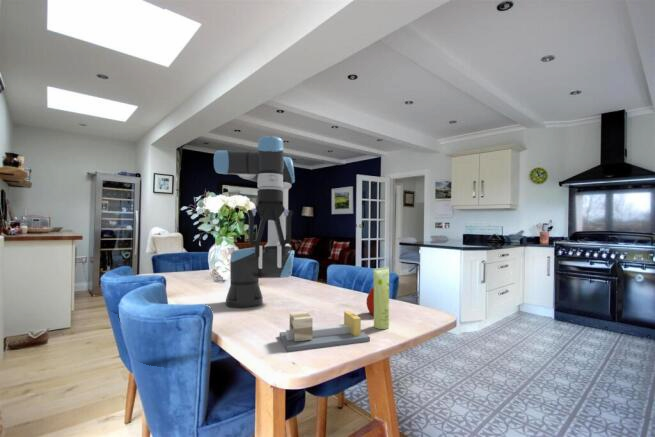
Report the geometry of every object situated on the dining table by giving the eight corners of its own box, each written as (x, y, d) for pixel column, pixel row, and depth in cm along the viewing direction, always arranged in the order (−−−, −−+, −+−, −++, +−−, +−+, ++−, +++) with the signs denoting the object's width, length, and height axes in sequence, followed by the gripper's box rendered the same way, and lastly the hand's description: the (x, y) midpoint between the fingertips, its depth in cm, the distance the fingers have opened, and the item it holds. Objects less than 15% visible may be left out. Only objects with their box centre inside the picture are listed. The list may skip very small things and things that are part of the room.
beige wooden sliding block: (289, 333, 93) (289, 312, 93) (305, 331, 95) (306, 311, 95) (294, 341, 86) (294, 319, 86) (312, 339, 88) (312, 317, 88)
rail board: (279, 336, 94) (279, 315, 95) (353, 328, 102) (353, 308, 102) (287, 351, 83) (287, 328, 83) (369, 341, 91) (369, 319, 91)
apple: (384, 318, 113) (384, 288, 113) (362, 315, 117) (362, 286, 117) (391, 313, 120) (391, 284, 120) (370, 310, 124) (370, 282, 124)
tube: (389, 330, 100) (389, 268, 100) (373, 329, 101) (373, 268, 101) (389, 325, 105) (388, 266, 106) (373, 324, 106) (373, 266, 107)
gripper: (240, 186, 88) (239, 270, 87) (302, 189, 94) (302, 267, 93) (238, 189, 95) (237, 267, 95) (296, 191, 101) (296, 264, 100)
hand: (269, 267), depth 94 cm, fingers open, 5 cm apart
